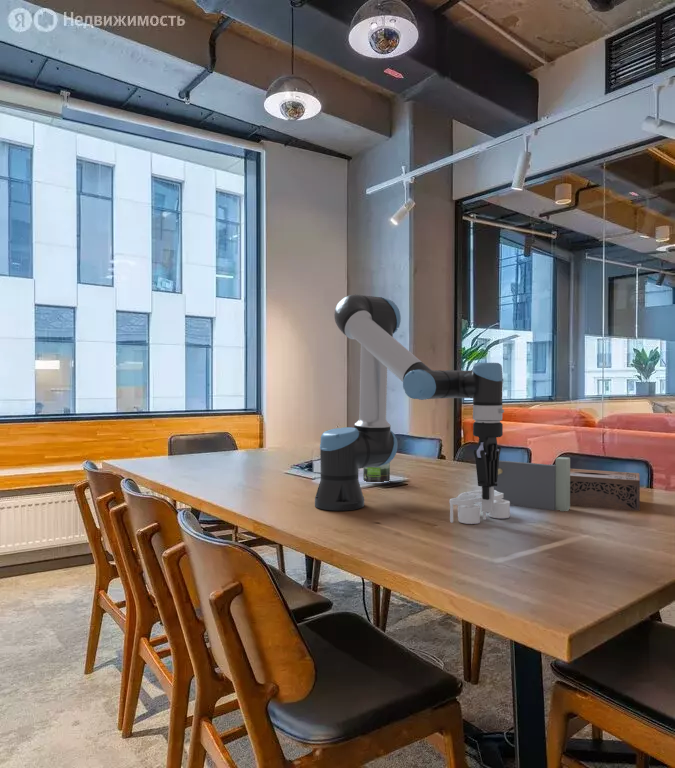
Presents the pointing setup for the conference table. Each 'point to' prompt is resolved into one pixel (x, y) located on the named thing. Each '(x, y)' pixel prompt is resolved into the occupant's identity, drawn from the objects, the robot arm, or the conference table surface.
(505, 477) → the door leaf
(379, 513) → the conference table surface
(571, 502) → the tissue box cover
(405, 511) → the conference table surface
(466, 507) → the white framed double cylinder
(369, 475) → the coffee can
